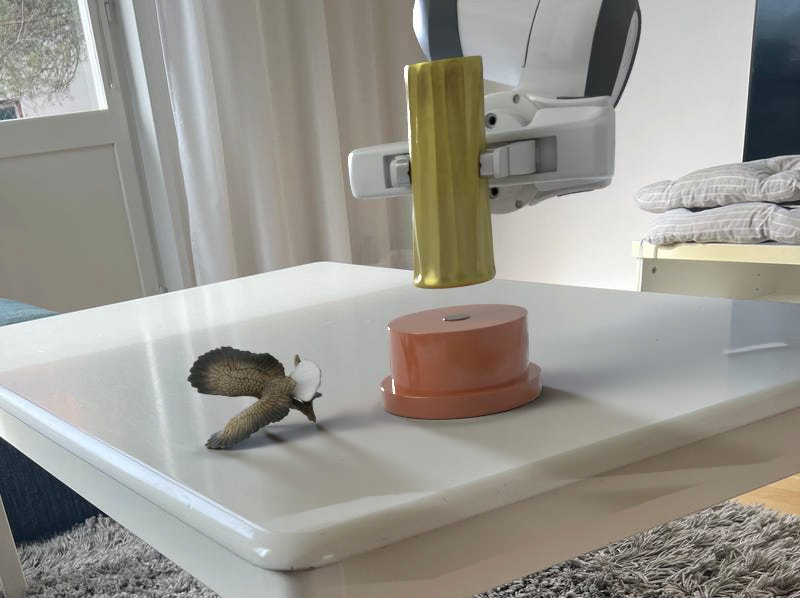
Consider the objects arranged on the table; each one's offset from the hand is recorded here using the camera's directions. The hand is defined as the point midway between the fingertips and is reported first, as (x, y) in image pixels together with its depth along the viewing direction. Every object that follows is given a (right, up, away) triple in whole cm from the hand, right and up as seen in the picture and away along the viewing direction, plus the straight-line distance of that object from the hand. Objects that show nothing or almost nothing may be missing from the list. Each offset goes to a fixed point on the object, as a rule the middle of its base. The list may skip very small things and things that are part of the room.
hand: (444, 169), depth 68 cm
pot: (+2, -14, +8) cm, 16 cm away
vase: (+1, -6, +4) cm, 8 cm away
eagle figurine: (-13, -17, +6) cm, 22 cm away
